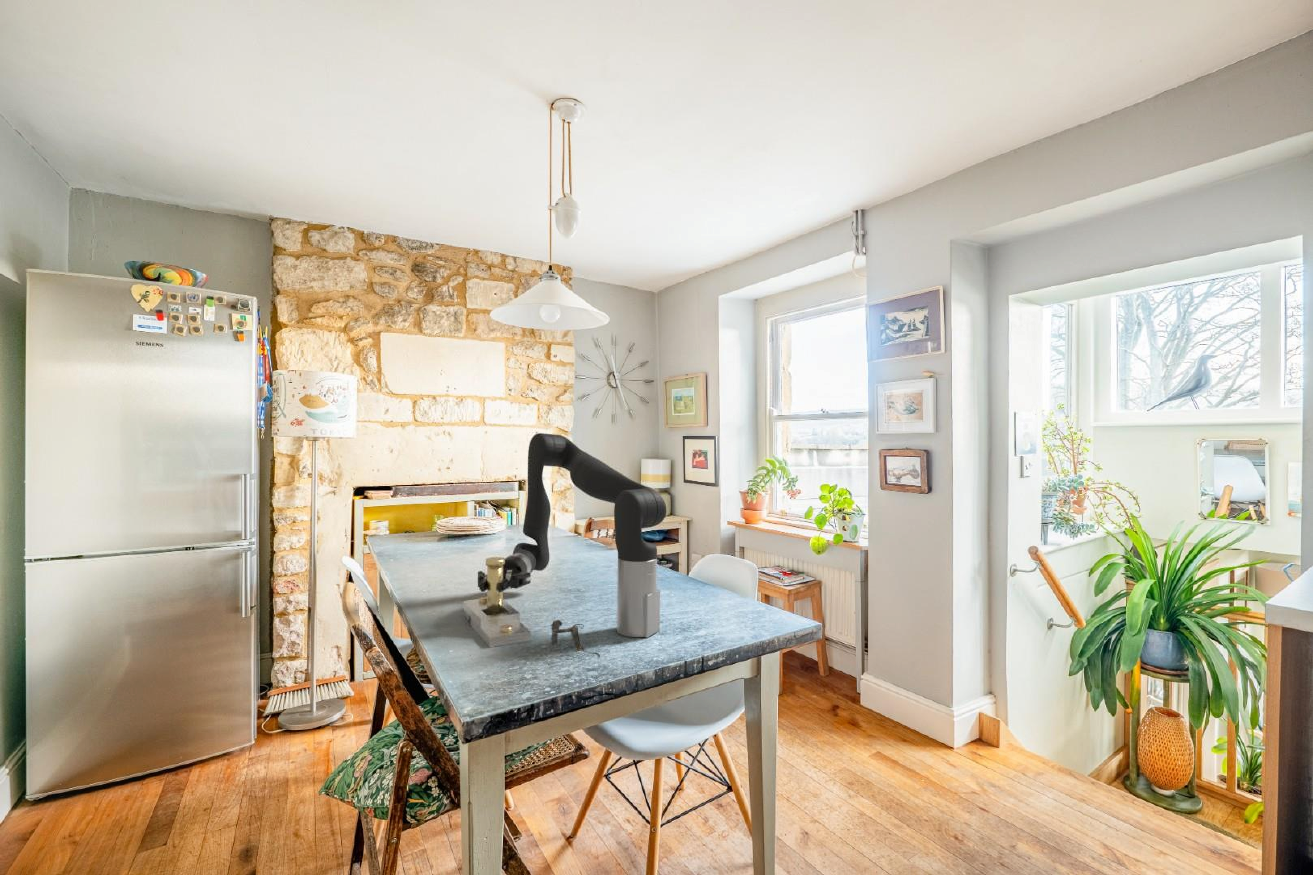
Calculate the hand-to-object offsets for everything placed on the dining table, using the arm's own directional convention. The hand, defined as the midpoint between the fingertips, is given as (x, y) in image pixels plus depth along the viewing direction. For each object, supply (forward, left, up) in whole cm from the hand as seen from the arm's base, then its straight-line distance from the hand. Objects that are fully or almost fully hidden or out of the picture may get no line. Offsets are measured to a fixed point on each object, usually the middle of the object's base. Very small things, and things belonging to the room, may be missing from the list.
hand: (491, 587), depth 134 cm
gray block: (+1, -2, -10) cm, 11 cm away
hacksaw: (-20, -6, -11) cm, 23 cm away
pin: (+1, -3, -8) cm, 8 cm away
